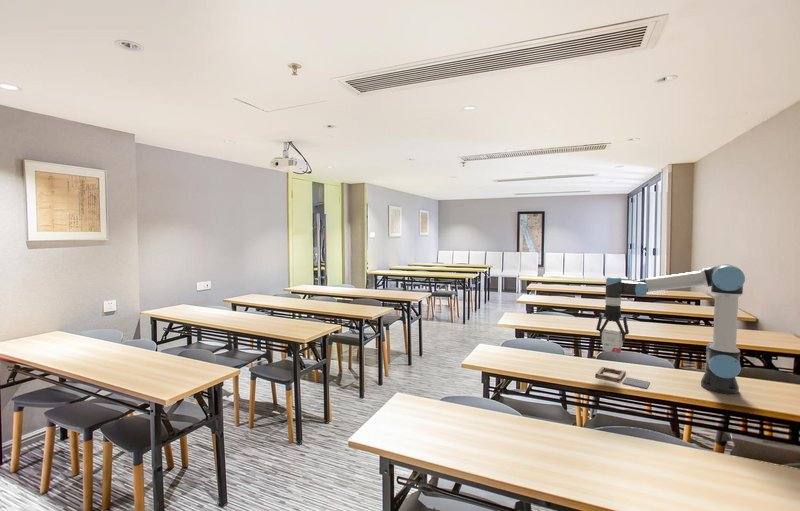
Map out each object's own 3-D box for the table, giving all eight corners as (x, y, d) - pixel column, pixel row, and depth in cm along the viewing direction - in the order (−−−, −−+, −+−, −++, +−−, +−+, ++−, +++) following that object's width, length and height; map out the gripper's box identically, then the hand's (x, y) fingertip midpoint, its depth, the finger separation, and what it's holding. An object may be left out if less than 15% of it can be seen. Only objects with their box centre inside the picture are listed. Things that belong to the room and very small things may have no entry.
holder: (625, 374, 218) (625, 371, 218) (619, 382, 205) (619, 378, 205) (602, 369, 225) (602, 366, 225) (595, 376, 213) (595, 373, 213)
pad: (649, 383, 205) (649, 381, 205) (646, 389, 196) (646, 387, 196) (626, 378, 212) (626, 377, 212) (622, 383, 203) (622, 382, 203)
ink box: (621, 351, 214) (622, 330, 213) (619, 353, 210) (620, 331, 209) (604, 348, 219) (605, 328, 219) (602, 350, 216) (602, 329, 215)
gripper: (636, 306, 210) (635, 346, 211) (593, 301, 223) (593, 340, 224) (633, 307, 204) (632, 349, 205) (590, 303, 218) (589, 342, 219)
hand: (611, 344), depth 215 cm, fingers closed on ink box, 8 cm apart
